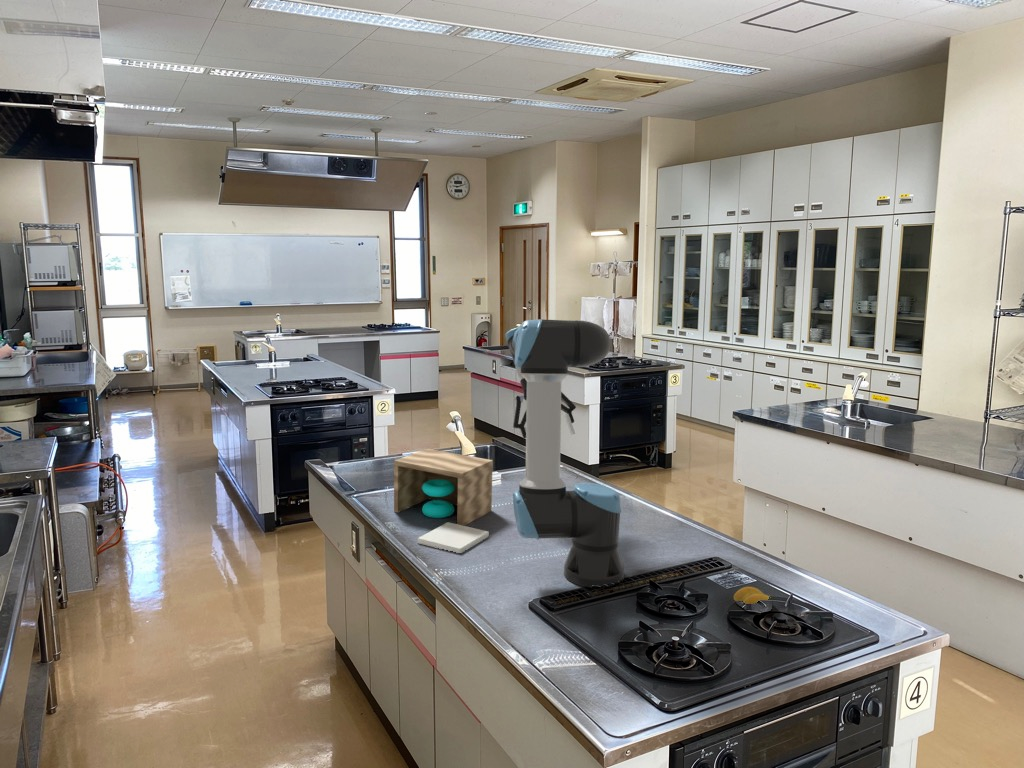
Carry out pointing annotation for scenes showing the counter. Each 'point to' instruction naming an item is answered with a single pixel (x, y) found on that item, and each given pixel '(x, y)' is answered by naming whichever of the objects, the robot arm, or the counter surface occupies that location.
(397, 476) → the tunnel
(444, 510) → the donuts
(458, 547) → the platter
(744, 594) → the bread roll
